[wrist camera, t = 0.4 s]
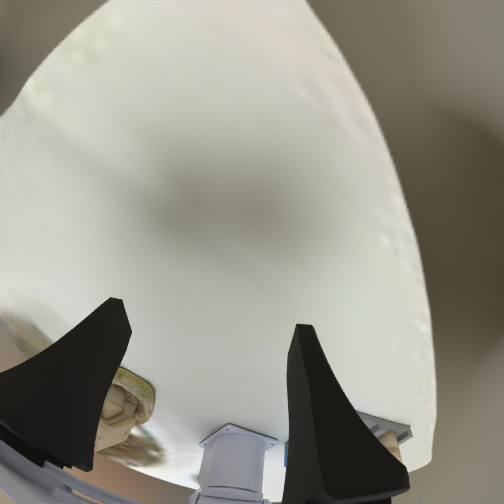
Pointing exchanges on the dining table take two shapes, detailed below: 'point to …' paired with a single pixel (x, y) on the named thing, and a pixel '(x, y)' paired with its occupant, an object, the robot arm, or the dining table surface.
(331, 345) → the dining table surface
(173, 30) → the dining table surface
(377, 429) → the board
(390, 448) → the wooden plug
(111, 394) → the ceramic model
